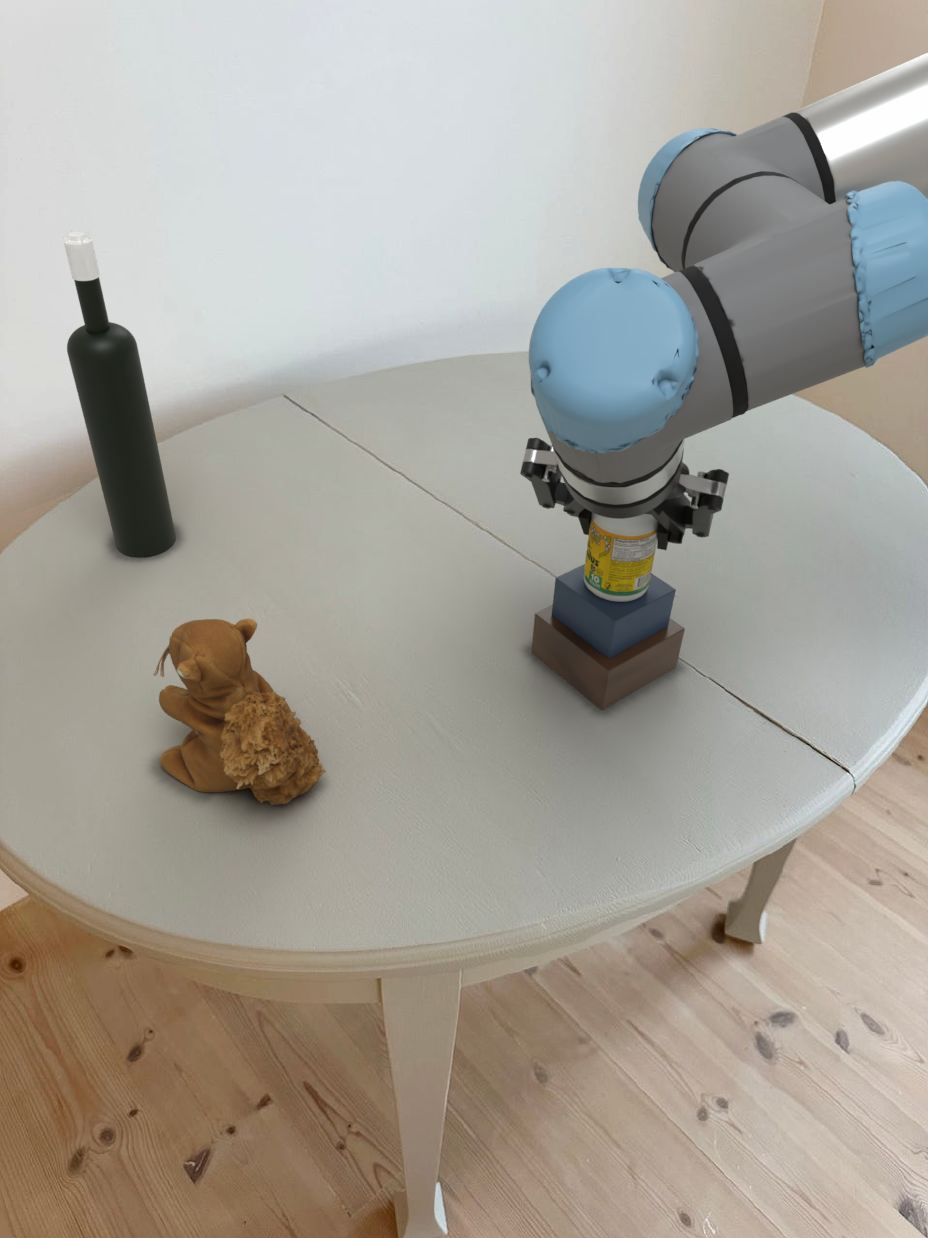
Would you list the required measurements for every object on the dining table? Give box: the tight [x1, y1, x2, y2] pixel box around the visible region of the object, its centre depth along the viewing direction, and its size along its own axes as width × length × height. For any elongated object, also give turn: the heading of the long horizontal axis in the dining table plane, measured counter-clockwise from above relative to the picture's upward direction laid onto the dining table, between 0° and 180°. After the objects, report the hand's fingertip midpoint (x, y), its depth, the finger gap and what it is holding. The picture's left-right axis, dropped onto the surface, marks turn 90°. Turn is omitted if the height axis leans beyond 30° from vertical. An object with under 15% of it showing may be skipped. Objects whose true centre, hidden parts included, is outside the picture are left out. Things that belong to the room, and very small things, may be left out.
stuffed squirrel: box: [153, 618, 327, 806], centre depth 69 cm, size 10×14×13 cm
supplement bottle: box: [584, 512, 660, 602], centre depth 75 cm, size 5×5×10 cm
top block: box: [552, 563, 677, 659], centre depth 80 cm, size 7×7×4 cm
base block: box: [531, 604, 686, 711], centre depth 82 cm, size 9×9×4 cm
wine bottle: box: [62, 230, 177, 559], centre depth 86 cm, size 6×6×30 cm
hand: (628, 526), depth 79 cm, fingers open, 5 cm apart
